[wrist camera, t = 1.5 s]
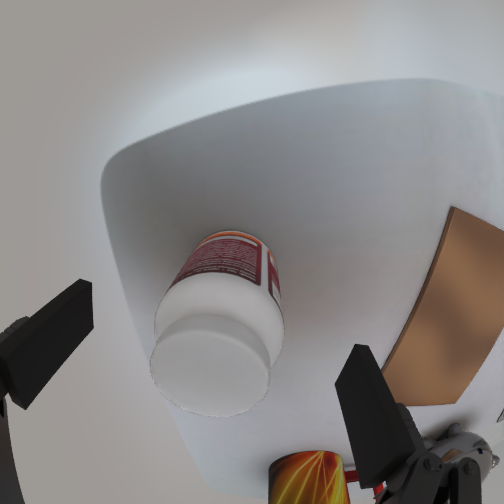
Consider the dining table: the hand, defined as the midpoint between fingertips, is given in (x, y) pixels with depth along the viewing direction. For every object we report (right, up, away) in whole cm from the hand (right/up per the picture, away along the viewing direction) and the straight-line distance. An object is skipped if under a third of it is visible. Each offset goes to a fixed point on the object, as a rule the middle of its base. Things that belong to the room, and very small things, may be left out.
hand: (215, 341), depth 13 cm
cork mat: (+22, -3, +9) cm, 23 cm away
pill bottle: (0, +3, +8) cm, 8 cm away
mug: (+11, -23, +16) cm, 30 cm away
